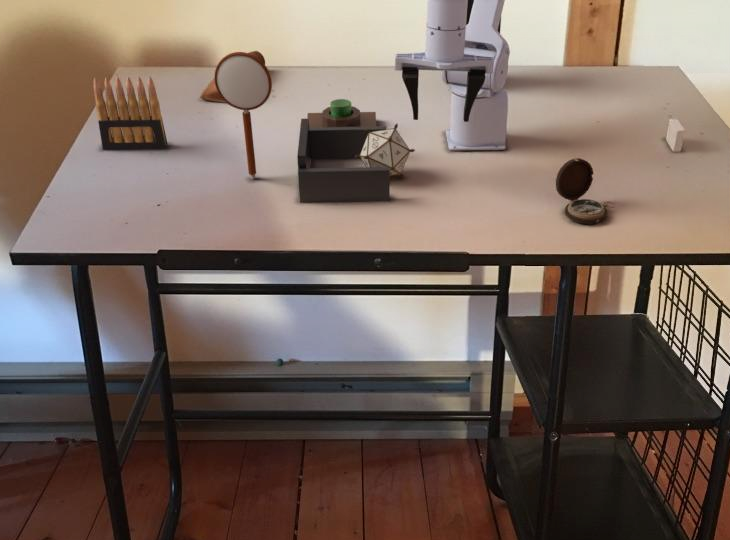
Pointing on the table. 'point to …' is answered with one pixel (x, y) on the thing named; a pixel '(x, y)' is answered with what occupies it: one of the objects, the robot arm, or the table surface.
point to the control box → (342, 119)
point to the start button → (341, 108)
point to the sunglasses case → (210, 90)
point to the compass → (579, 192)
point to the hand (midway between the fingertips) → (440, 118)
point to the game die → (385, 150)
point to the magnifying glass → (244, 91)
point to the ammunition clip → (129, 117)
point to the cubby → (338, 180)
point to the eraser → (675, 135)
